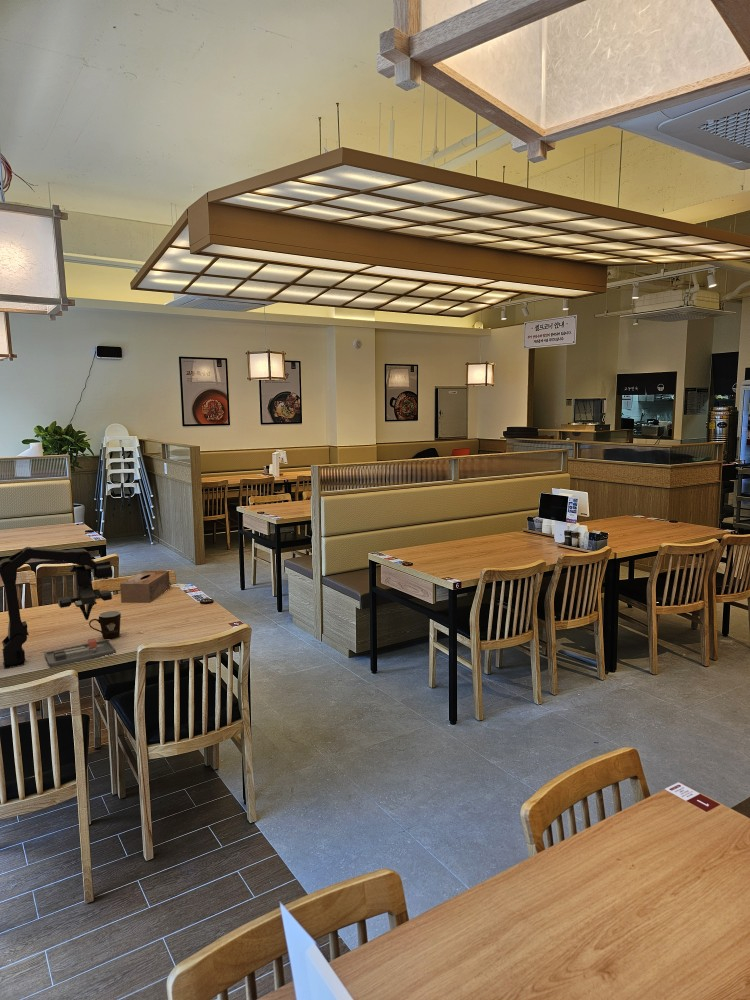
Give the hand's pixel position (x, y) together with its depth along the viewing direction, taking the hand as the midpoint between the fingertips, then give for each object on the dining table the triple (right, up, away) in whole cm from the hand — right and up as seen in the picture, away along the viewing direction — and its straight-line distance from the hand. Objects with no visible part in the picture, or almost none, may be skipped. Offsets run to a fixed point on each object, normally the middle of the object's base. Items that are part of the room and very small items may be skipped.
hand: (86, 619), depth 246 cm
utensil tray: (0, -13, -5) cm, 14 cm away
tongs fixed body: (0, -12, -6) cm, 14 cm away
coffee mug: (+2, -10, +15) cm, 18 cm away
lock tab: (+4, -10, -4) cm, 11 cm away
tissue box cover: (-4, -2, +76) cm, 76 cm away
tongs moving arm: (-3, -12, -7) cm, 14 cm away
